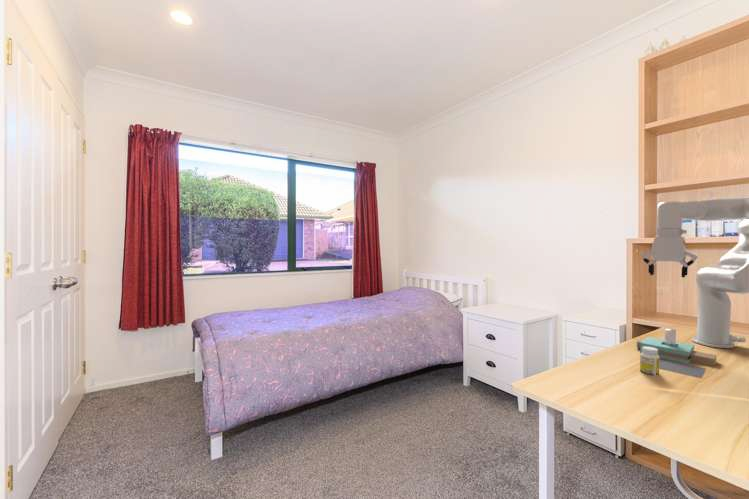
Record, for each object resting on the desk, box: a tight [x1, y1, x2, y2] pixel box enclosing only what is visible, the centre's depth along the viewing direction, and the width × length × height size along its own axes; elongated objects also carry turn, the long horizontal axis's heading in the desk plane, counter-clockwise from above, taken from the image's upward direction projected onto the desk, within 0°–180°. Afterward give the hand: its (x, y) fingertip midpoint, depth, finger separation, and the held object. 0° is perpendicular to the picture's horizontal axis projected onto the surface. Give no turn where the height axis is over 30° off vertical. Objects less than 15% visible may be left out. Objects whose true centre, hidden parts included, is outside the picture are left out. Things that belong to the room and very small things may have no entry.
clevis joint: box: [636, 336, 718, 367], centre depth 125 cm, size 22×12×4 cm, turn 41°
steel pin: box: [664, 327, 677, 347], centre depth 126 cm, size 3×3×10 cm
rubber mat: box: [659, 357, 707, 379], centre depth 114 cm, size 12×12×1 cm
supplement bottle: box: [639, 346, 660, 376], centre depth 110 cm, size 5×5×8 cm
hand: (667, 275), depth 137 cm, fingers open, 9 cm apart
